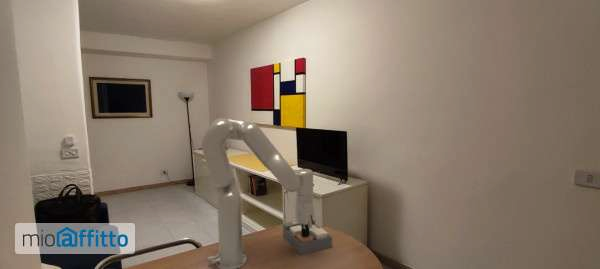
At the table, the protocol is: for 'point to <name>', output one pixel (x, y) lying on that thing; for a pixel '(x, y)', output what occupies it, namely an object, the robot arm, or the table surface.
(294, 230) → the key cream left
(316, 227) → the key sage
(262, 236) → the table surface
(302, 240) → the key terracotta
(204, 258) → the table surface
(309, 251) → the keypad
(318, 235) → the key cream right
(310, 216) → the robot arm
